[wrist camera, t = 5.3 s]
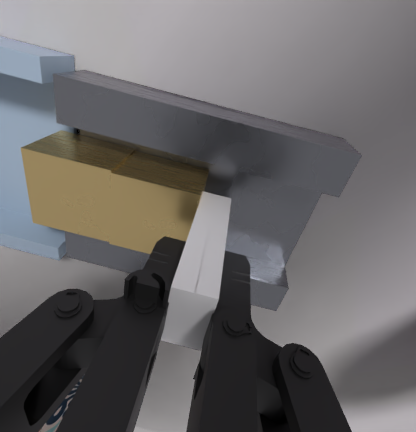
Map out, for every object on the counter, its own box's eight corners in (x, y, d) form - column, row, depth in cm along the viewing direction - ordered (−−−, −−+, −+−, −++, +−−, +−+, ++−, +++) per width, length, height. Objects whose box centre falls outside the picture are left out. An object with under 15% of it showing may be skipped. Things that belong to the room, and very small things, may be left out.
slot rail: (84, 69, 13) (52, 73, 11) (343, 138, 13) (362, 155, 11) (87, 232, 18) (66, 256, 16) (272, 281, 19) (276, 310, 16)
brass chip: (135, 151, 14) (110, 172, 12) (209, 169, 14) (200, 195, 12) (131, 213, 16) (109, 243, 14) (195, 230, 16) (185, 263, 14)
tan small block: (61, 130, 14) (20, 147, 12) (135, 149, 14) (111, 170, 12) (66, 196, 16) (32, 222, 14) (130, 212, 16) (109, 242, 14)
